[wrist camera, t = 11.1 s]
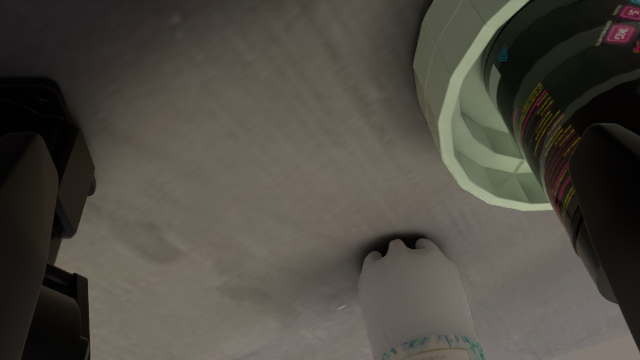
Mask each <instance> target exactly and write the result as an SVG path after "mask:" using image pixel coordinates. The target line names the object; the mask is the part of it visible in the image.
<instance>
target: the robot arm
mask: <svg viewBox="0 0 640 360" xmlns="http://www.w3.org/2000/svg"><path fill="white" fill-rule="evenodd" d="M41 90H44V91H47V92H49V93H50V94H51V95H47V94H44V93H43V92H42V91H41ZM94 171H95V167H94V164H93V161H92V159H91V156H90V153H89V151H88V148H87V145H86V143H85V140H84V137H83V135H82V132H81V129H80V128H79V127H78V126H76V125H75V124H73V121H72V119H71V116H70V114H69V111H68V108H67V106H66V103H65V101H64V98H63V95H62V93H61V90H60V88H59V87H58V85H56V84H55V83H54V82H52V81H50V80H45V79H28V80H0V360H90V331H89V304H88V279H87V278H85V277H83V276H81V275H79V274H77V273H73V274H71V273H69V272H67V271H65V270H62V269H60V268H58V267H56V266H54V264H55V261H56V258H57V255H58V251H59V248H60V245H61V242H62V239H70V238H72V237H73V236H74V235H75V234H76V232H77V229H78V225H79V222H80V219H81V215H82V212H83V208H84V205H85V202H86V198H87V196H91V195H93V194H94V192H95V189H96V181H95V179H94V176H93V174H94ZM568 171H569V175H570V178H571V181H572V184H573V187H574V190H575V194H576V197H577V200H578V203H579V206H580V209H581V212H582V216H583V219H584V222H585V225H586V228H587V231H588V234H589V237H590V240H591V243H592V245H593V248H594V250H595V253H596V255H597V257H598V260H599V262H600V264H601V266H602V269H603V271H604V273H605V275H606V278H607V280H608V282H609V284H610V287H611V289H612V291H613V293H614V296H615V298H616V300H617V302H618V305H619V307H620V309H621V311H622V314H623V316H624V318H625V320H626V323H627V325H628V327H629V329H630V332H631V334H632V336H633V338H634V341H635V343H636V345H637V347H638V350H639V352H640V136H638V135H637V134H635V133H633V132H631V131H629V130H627V129H625V128H624V127H622V126H620V125H618V124H614V123H596V124H592V125H590V126H589V127H588V128H587V129H586V130H585V132H584V133H583V135H582V137H581V139H580V140H579V142H578V144H577V145H576V147H575V149H574V151H573V152H572V154H571V156H570V158H569V161H568Z"/></svg>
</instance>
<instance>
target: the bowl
mask: <svg viewBox="0 0 640 360" xmlns="http://www.w3.org/2000/svg"><path fill="white" fill-rule="evenodd" d="M528 1H529V0H433V2H432V4H431V6H430V8H429V9H428V11H427V13H426V15H425V17H424V19H423V20H424V21H423V22H422V25H421V30H420V35H419V39H418V44H417V48H416V53H415V57H414V62H413V64H414V65H413V70H414V77H415V83H416V90H417V97H418V101H419V104H420V107H421V109H422V112H423V114H424V117H425V119H426V122H427V124H428V126H429V129H430V131H431V134H432V136H433V139H434V141H435V144H436V146H437V149H438V151H439V154H440V156H441V159H442V161H443V162H444V164H445V165H446V167H447V168H448V170H449V171H450V173H451V174H452V176H453V177H454V179H455V180H456V182H457V183H458V185H459V186H460V187H461V188H463V189H464V190H466V191H468V192H470V193H471V194H473V195H475V196H476V197H478V198H480V199H481V200H483V201H485V202H486V203H488V204H491V205H496V206H501V207H506V208H511V209H517V210H522V211H538V210H553V208H552V206H551V204H550V203H549V201H548V199H547V197H546V196H545V194H544V192H543V190H542V189H541V187H540V185H539V183H538V182H537V180H536V178H535V176H534V175H533V173H532V171H531V169H530V168H529V166H528V164H527V162H526V161H525V159H524V157H523V155H522V154H521V152H520V150H519V149H518V147H517V145H516V143H515V142H514V140H513V138H512V136H511V135H510V133H509V131H508V129H507V128H506V126H505V124H504V122H503V121H502V119H501V117H500V115H499V114H498V112H497V110H496V108H495V107H494V105H493V103H492V101H491V100H490V98H489V96H488V94H487V92H486V89H485V86H484V80H483V69H484V60H485V56H486V52H487V49H488V46H489V44H490V42H491V40H492V38H493V36H494V34H495V32H496V31H497V29H498V28H499V27H500V26H502V25H503V24H504V23H505V22H506V21H507V20H508V19H509V18H510V17H511V16H512V15H514V14H515V13H516V12H517V11H518V10H519V9H520V8H521V7H522V6H523V5H524V4H526V3H527V2H528Z"/></svg>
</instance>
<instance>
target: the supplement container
mask: <svg viewBox="0 0 640 360" xmlns="http://www.w3.org/2000/svg"><path fill="white" fill-rule="evenodd" d="M483 80H484V86H485V89H486V92H487V94H488V96H489V98H490V100H491V101H492V103H493V105H494V107H495V108H496V110H497V112H498V114H499V115H500V117H501V119H502V121H503V122H504V124H505V126H506V128H507V129H508V131H509V133H510V135H511V136H512V138H513V140H514V142H515V143H516V145H517V147H518V149H519V150H520V152H521V154H522V155H523V157H524V159H525V161H526V162H527V164H528V166H529V168H530V169H531V171H532V173H533V175H534V176H535V178H536V180H537V182H538V183H539V185H540V187H541V189H542V190H543V192H544V194H545V196H546V197H547V199H548V201H549V203H550V204H551V206H552V208H553V210H554V211H555V213H556V215H557V217H558V218H559V220H560V222H561V224H562V225H563V227H564V229H565V231H566V232H567V234H568V236H569V238H570V241H571V245H572V247H573V249H574V250H575V252H576V254H577V255H578V256H579V258H580V259H581V261H582V262H583V264H584V266H585V268H586V269H587V271H588V273H589V275H590V276H591V278H592V280H593V282H594V283H595V285H596V287H597V289H598V290H599V292H600V293H601V295H602V296H603V297H605V298H606V299H607V300H609V301H611V302H613V303H616V304H618V302H617V300H616V298H615V296H614V293H613V291H612V289H611V287H610V284H609V282H608V280H607V278H606V275H605V273H604V271H603V269H602V266H601V264H600V262H599V260H598V257H597V255H596V253H595V250H594V248H593V245H592V243H591V240H590V237H589V234H588V231H587V228H586V225H585V222H584V219H583V216H582V212H581V209H580V206H579V203H578V200H577V197H576V194H575V190H574V187H573V184H572V181H571V178H570V175H569V171H568V161H569V158H570V156H571V154H572V152H573V151H574V149H575V147H576V145H577V144H578V142H579V140H580V139H581V137H582V135H583V133H584V132H585V130H586V129H587V128H588V127H589V126H590V125H592V124H596V123H614V124H618V125H620V126H622V127H624V128H625V129H627V130H629V131H631V132H633V133H635V134H637V135H638V136H640V0H529V1H528V2H527V3H526V4H524V5H523V6H522V7H521V8H520V9H519V10H518V11H517V12H516V13H515V14H514V15H512V16H511V17H510V18H509V19H508V20H507V21H506V22H505V23H504V24H503V25H502V26H500V27H499V28H498V29H497V31H496V32H495V34H494V36H493V38H492V40H491V42H490V44H489V46H488V49H487V52H486V56H485V60H484V69H483Z"/></svg>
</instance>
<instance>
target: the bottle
mask: <svg viewBox="0 0 640 360" xmlns="http://www.w3.org/2000/svg"><path fill="white" fill-rule="evenodd" d="M415 246H416V249H410V248H408V247H406V246H405V244H404V243H403V242H402V240H400V239H396V240H393V241H391V242H390V243H389V249H388V252H387V254H386V256H385V257H383V258H382V256H381V253H379V252H377V251H372V252H371V253H369V254H368V255H367V257H366V258H365V260H364V263H363V267H362V272H361V274H360V278H359V284H358V293H359V300H360V307H361V311H362V315H363V319H364V323H365V327H366V331H367V334H368V338H369V342H370V345H371V349H372V353H373V357H374V360H485V357H484V354H483V351H482V348H481V345H480V343H479V340H478V338H477V334H476V331H475V328H474V324H473V320H472V316H471V312H470V308H469V305H468V301H467V297H466V294H465V290H464V287H463V284H462V281H461V278H460V275H459V273H458V271H457V268H456V266H455V264H454V262H453V260H452V259H451V258H450V257H449V256H448V255H447V254H446V253H445V252H444V251H442V250H440V249H439V248H438V247H437V246H436V245H435V244H434V243H433V242H432V241H430V240H428V239H422V238H421V239H419V240H417V241H416V244H415Z"/></svg>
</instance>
